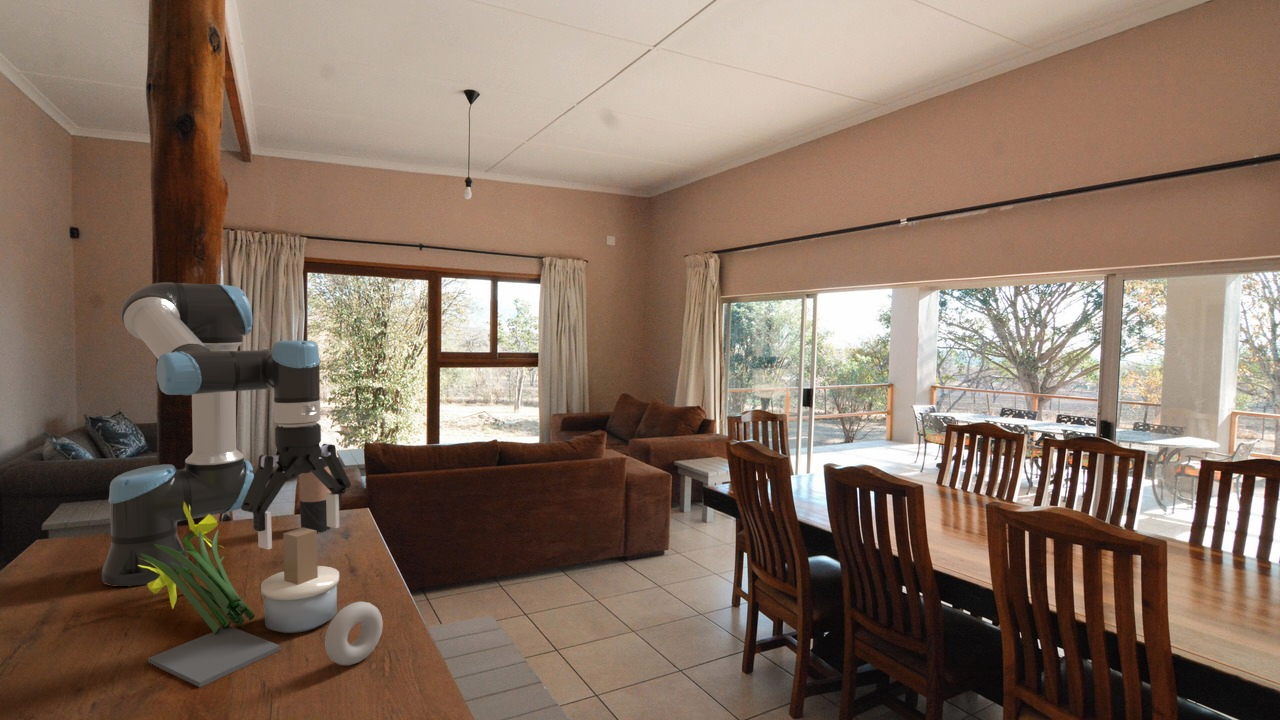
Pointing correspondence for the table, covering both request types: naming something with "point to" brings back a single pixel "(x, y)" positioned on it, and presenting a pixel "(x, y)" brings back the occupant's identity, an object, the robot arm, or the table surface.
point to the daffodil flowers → (214, 580)
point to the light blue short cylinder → (300, 612)
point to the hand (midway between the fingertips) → (300, 536)
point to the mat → (213, 655)
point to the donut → (342, 625)
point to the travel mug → (313, 500)
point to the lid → (300, 569)
